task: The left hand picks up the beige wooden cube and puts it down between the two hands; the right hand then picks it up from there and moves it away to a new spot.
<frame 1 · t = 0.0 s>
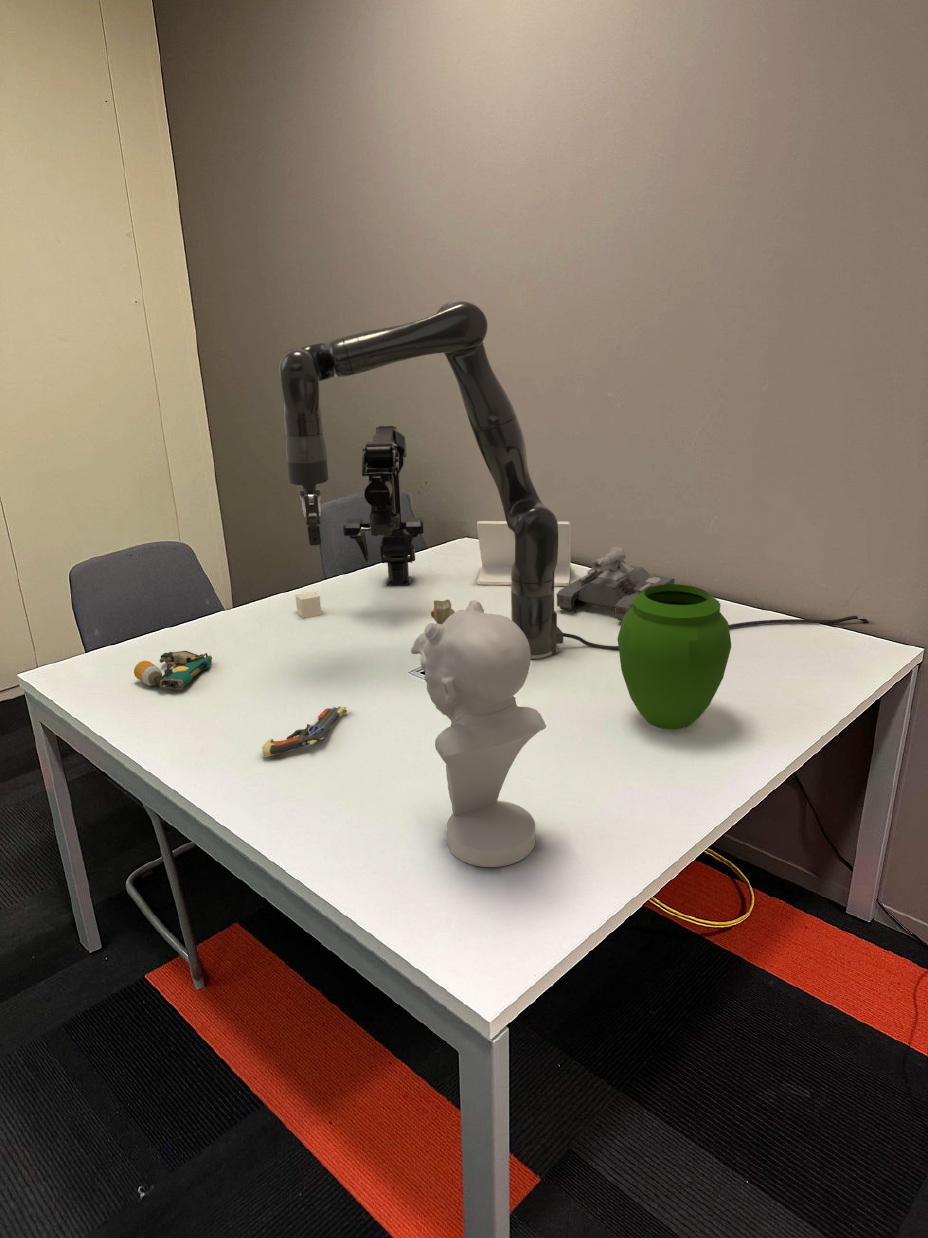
left hand: (386, 561, 205), 15 cm above the table, tool pointing down, fingers open, 9 cm apart
right hand: (314, 539, 170), 29 cm above the table, tool pointing down, fingers open, 8 cm apart
spray gun: (177, 676, 181), on the table
tablet stand: (525, 575, 239), on the table
toy: (615, 605, 214), on the table
bust sculpture: (470, 832, 125), on the table
beige wooden cube: (309, 613, 215), on the table
vase: (668, 721, 156), on the table
toy gun: (306, 735, 154), on the table
sculpture: (445, 671, 180), on the table
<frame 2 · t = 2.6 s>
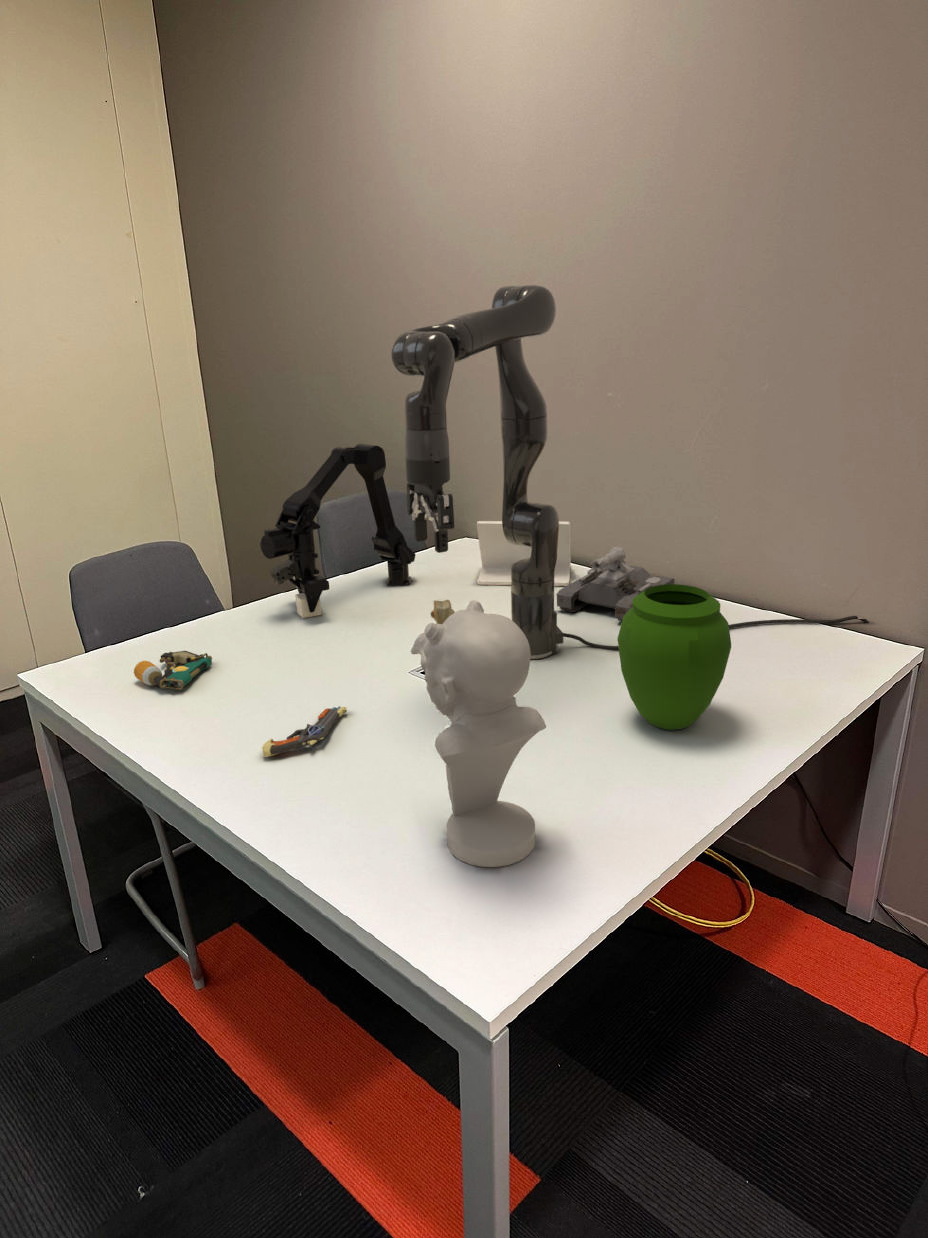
left hand: (308, 609, 214), 1 cm above the table, tool pointing down, fingers closed on beige wooden cube, 5 cm apart
right hand: (431, 546, 152), 32 cm above the table, tool pointing down, fingers open, 8 cm apart
beige wooden cube: (309, 613, 215), on the table, touching left hand
everything else where it was.
when the left hand's fingers open (2 cm above the table, at t = 6.0 s): beige wooden cube stays where it is, on the table.
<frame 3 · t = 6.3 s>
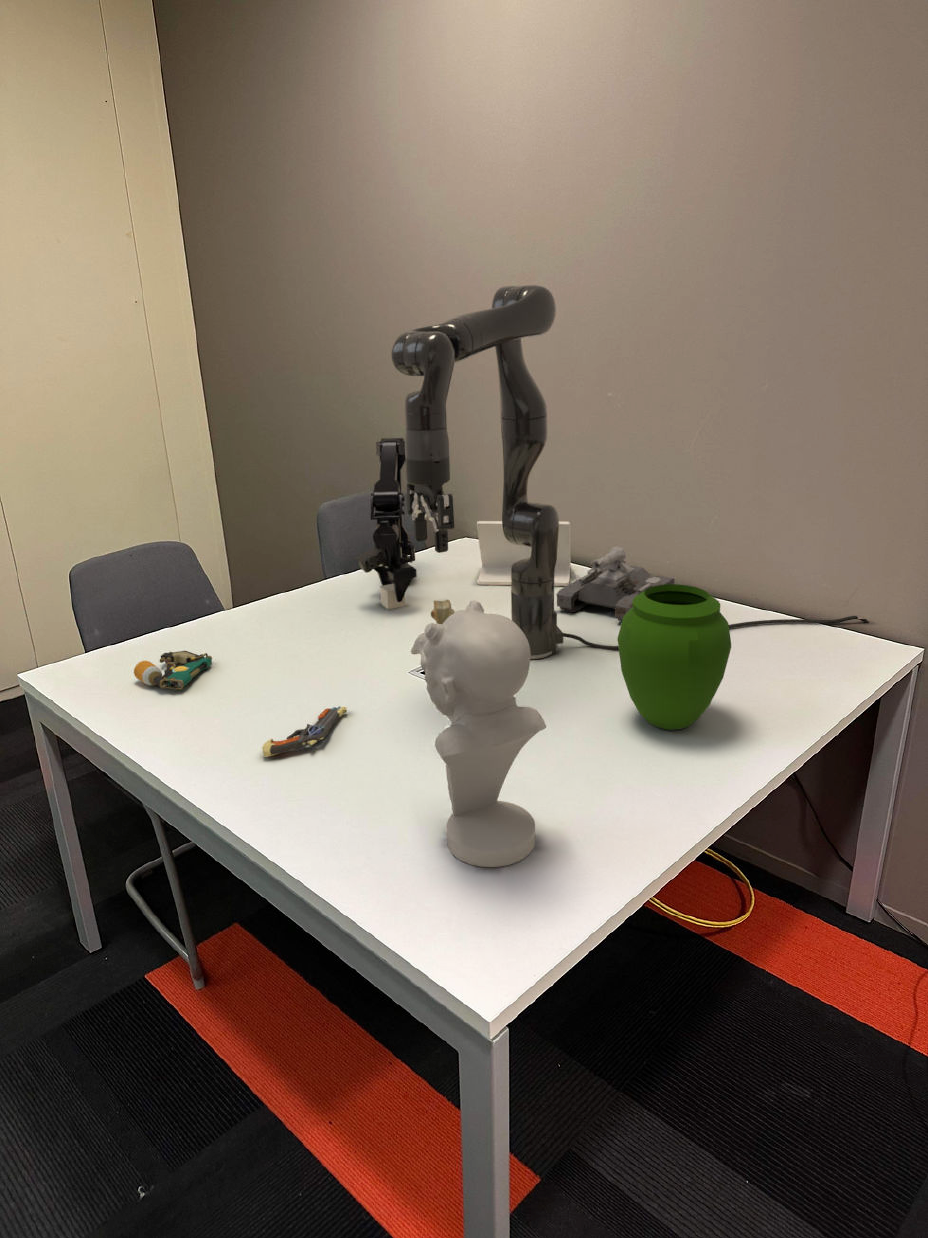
left hand: (392, 597, 218), 2 cm above the table, tool pointing down, fingers open, 8 cm apart
right hand: (431, 546, 152), 32 cm above the table, tool pointing down, fingers open, 8 cm apart
beige wooden cube: (393, 605, 219), on the table
everything else where it was.
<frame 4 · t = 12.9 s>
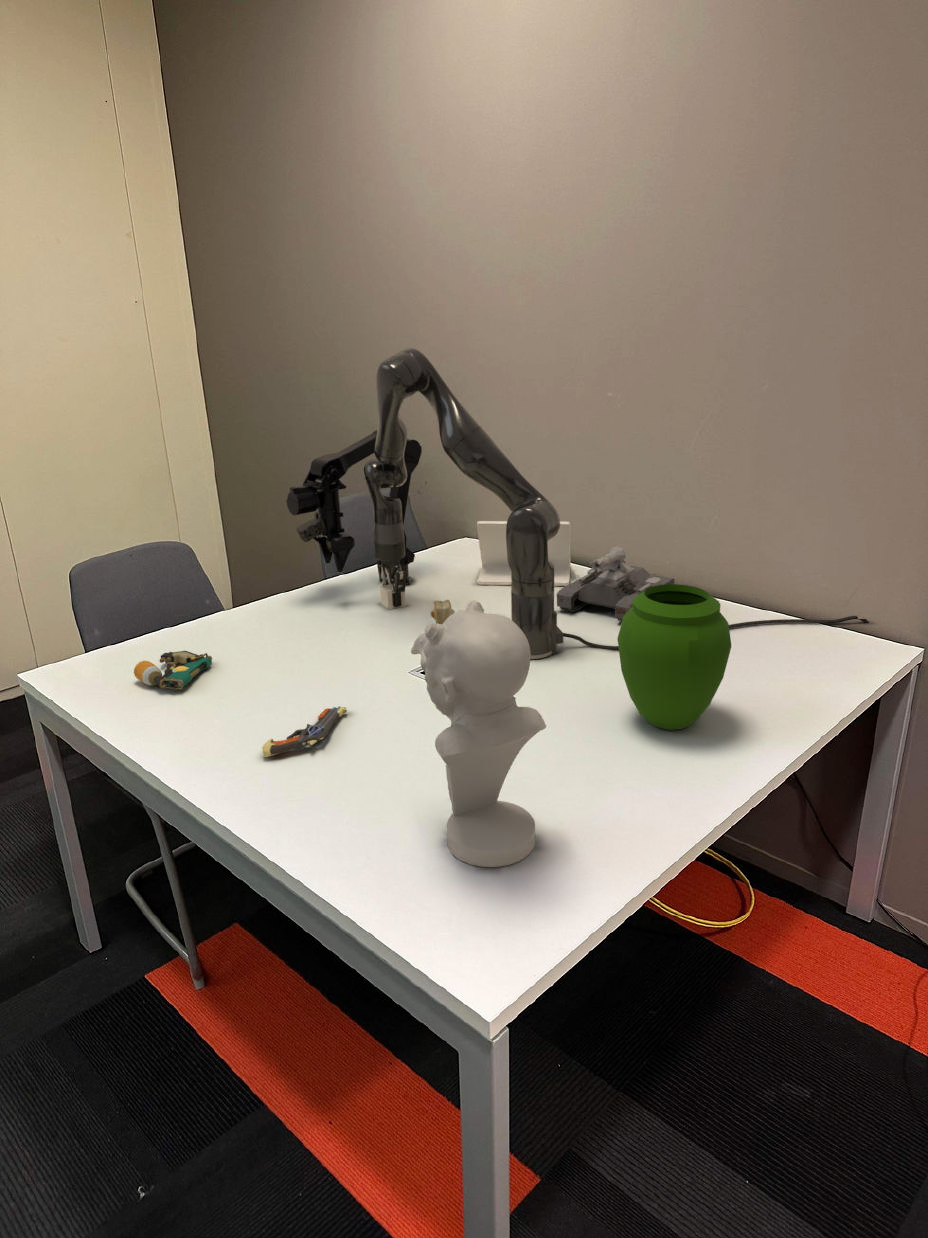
left hand: (333, 567, 221), 9 cm above the table, tool pointing down, fingers open, 9 cm apart
right hand: (393, 603, 219), 1 cm above the table, tool pointing down, fingers closed on beige wooden cube, 4 cm apart
beige wooden cube: (393, 605, 219), on the table, touching right hand
everything else where it was.
when the right hand's fingers open (1 cm above the table, at t = 18.6 s): beige wooden cube stays where it is, on the table.
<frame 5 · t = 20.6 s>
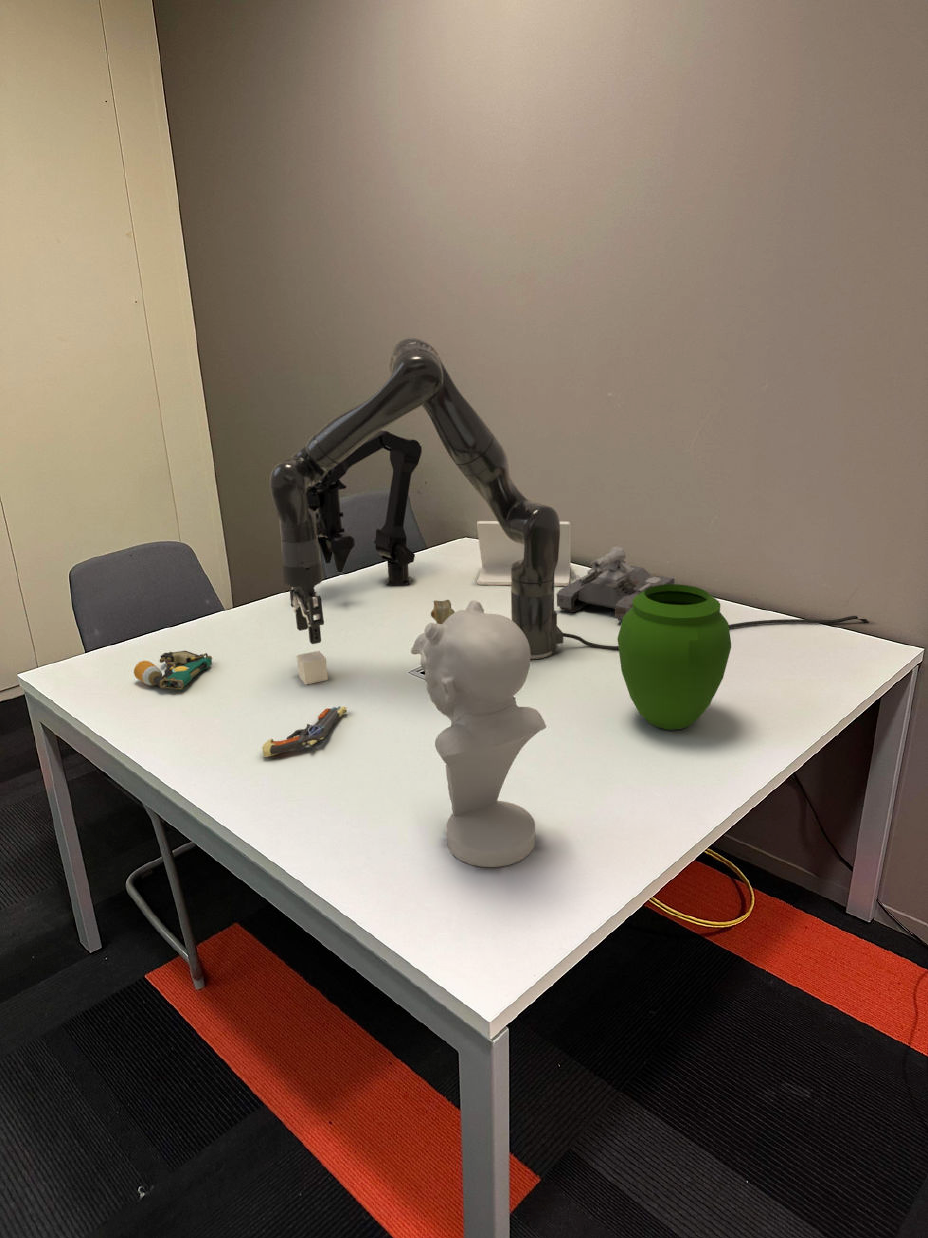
left hand: (333, 567, 221), 9 cm above the table, tool pointing down, fingers open, 9 cm apart
right hand: (309, 636, 175), 9 cm above the table, tool pointing down, fingers open, 8 cm apart
beige wooden cube: (313, 678, 178), on the table
everything else where it was.
at the end: beige wooden cube inside the target area (0.0 cm from its centre), on the table; beige wooden cube tilted 0°; the two hands never held the beige wooden cube at the same time; the left hand is holding nothing; the right hand is holding nothing; beige wooden cube at rest at the end (0.0 cm/s) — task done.
